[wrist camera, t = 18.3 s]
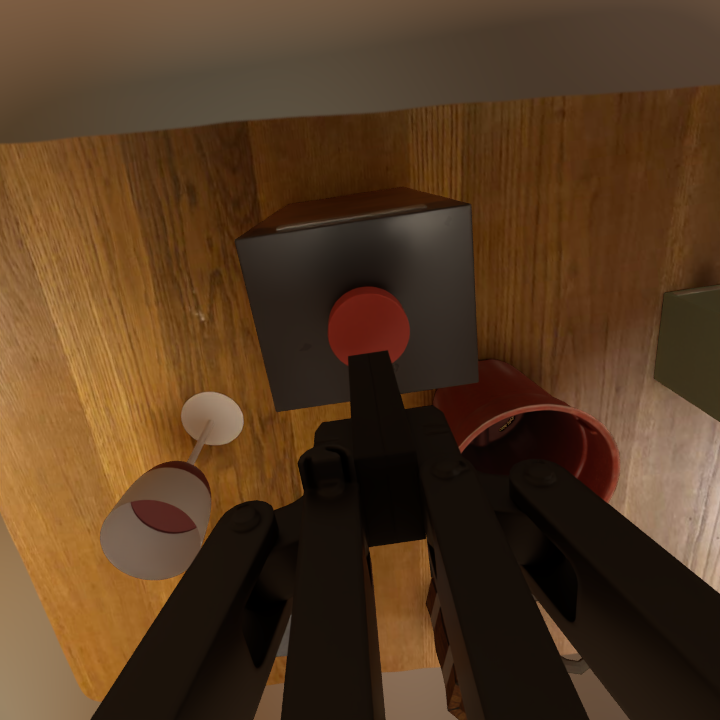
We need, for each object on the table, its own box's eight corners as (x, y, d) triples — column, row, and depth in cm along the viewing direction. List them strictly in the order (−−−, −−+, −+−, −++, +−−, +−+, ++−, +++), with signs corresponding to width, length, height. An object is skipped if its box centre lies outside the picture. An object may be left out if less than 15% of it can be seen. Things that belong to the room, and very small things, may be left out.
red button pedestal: (403, 185, 47) (471, 201, 23) (412, 282, 50) (479, 383, 26) (287, 203, 47) (233, 237, 23) (305, 297, 51) (275, 412, 27)
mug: (435, 632, 72) (457, 741, 58) (415, 572, 67) (435, 676, 53) (557, 603, 71) (610, 708, 57) (547, 540, 66) (602, 638, 52)
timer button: (401, 280, 23) (405, 287, 21) (409, 354, 24) (413, 364, 23) (321, 292, 23) (320, 300, 21) (334, 365, 24) (334, 376, 23)
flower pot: (551, 333, 54) (632, 395, 39) (543, 450, 60) (610, 543, 45) (412, 348, 54) (440, 416, 39) (418, 464, 60) (445, 561, 45)
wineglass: (256, 403, 55) (215, 519, 37) (230, 457, 58) (181, 591, 40) (192, 377, 54) (116, 486, 35) (169, 435, 57) (88, 563, 38)
